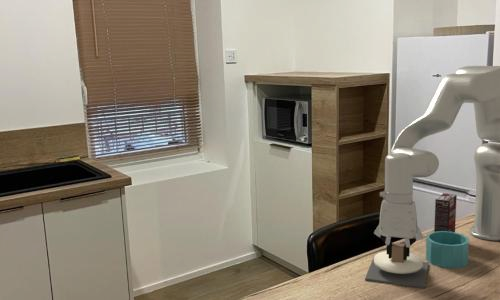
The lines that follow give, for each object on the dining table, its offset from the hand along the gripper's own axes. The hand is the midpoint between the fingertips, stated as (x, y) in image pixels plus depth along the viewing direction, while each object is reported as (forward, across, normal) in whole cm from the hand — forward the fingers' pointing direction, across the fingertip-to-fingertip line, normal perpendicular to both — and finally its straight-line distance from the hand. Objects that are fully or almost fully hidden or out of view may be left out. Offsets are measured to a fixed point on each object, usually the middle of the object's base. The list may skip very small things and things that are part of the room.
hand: (397, 257), depth 141 cm
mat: (+5, 0, 0) cm, 5 cm away
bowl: (+5, +13, +13) cm, 19 cm away
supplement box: (+5, +12, +27) cm, 30 cm away
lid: (+3, 0, 0) cm, 3 cm away
